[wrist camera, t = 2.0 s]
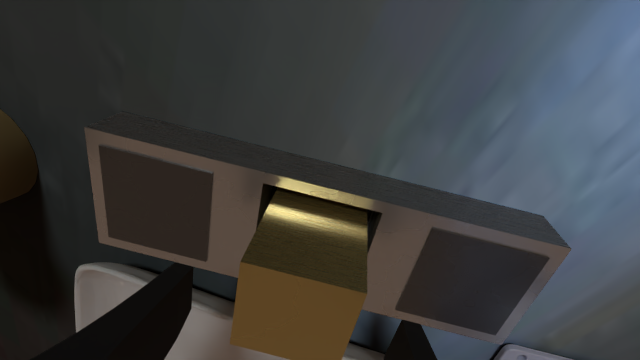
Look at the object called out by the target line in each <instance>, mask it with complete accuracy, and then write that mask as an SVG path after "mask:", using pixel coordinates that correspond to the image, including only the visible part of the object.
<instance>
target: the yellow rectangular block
mask: <svg viewBox="0 0 640 360" xmlns="http://www.w3.org/2000/svg"><path fill="white" fill-rule="evenodd" d="M366 296H367V209H365V208H361V207H357V206H353V205H349V204H345V203H341V202H337V201H333V200H329V199H325V198H321V197H317V196H313V195H309V194H305V193H301V192H297V191H293V190H289V189H285V188H281V187H278V188H277V190H276V192H275V194H274V196H273V198H272V200H271V202H270V204H269V206H268V208H267V210H266V212H265V214H264V216H263V218H262V220H261V222H260V224H259V226H258V228H257V230H256V232H255V233H254V235H253V237H252V239H251V241H250V243H249V245H248V247H247V249H246V251H245V253H244V255H243V257H242V259H241V261H240V268H239V275H238V283H237V291H236V299H235V307H234V314H233V322H232V330H231V338H230V344H231V345H235V346H239V347H243V348H247V349H251V350H254V351H258V352H262V353H266V354H270V355H274V356H278V357H282V358H286V359H290V360H342V358H343V355H344V352H345V350H346V347H347V345H348V342H349V340H350V337H351V335H352V332H353V329H354V327H355V324H356V322H357V319H358V317H359V314H360V311H361V309H362V306H363V304H364V301H365V299H366Z"/></svg>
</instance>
